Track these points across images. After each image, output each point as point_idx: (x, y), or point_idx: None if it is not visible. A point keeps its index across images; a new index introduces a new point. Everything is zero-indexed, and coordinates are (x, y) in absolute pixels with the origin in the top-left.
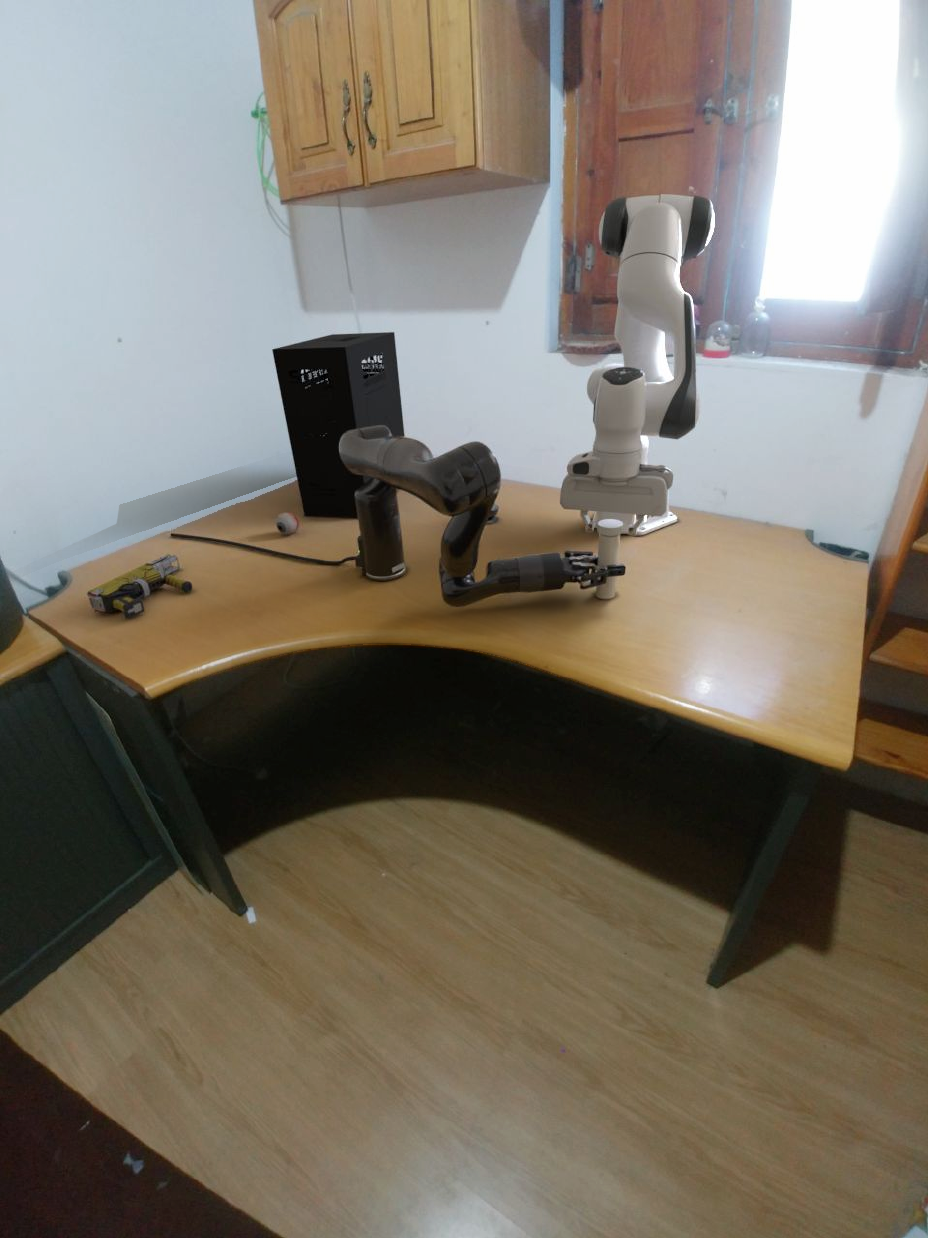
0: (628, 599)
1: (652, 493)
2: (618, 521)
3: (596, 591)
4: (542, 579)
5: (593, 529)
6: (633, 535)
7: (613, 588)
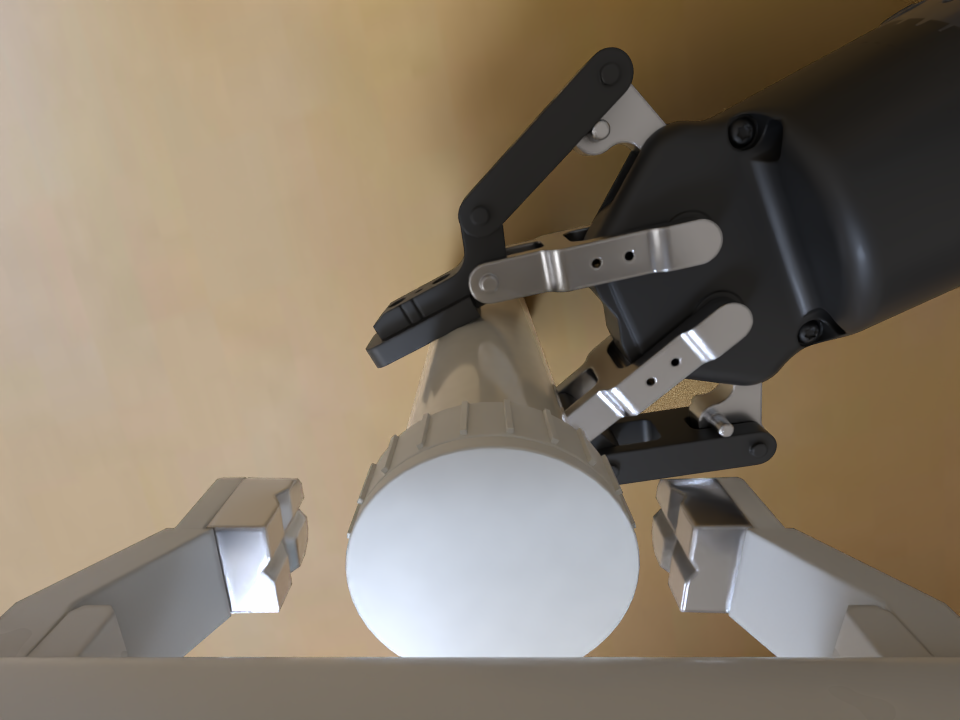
0: (374, 303)
1: None
2: (412, 637)
3: (524, 301)
4: (909, 13)
5: (657, 523)
6: (246, 478)
7: None
